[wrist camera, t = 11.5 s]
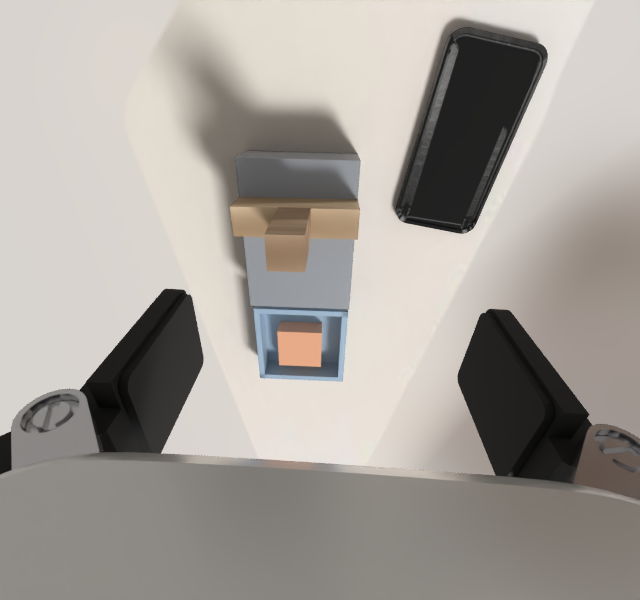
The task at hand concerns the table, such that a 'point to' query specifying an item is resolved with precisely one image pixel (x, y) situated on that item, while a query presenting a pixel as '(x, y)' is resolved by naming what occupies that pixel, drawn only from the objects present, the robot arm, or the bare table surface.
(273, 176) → the gray rectangular block
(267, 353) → the tray
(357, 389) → the table surface
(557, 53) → the table surface
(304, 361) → the tile
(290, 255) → the scraper
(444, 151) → the phone
